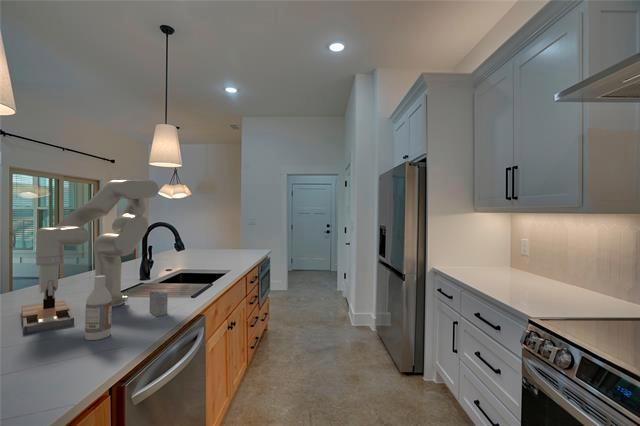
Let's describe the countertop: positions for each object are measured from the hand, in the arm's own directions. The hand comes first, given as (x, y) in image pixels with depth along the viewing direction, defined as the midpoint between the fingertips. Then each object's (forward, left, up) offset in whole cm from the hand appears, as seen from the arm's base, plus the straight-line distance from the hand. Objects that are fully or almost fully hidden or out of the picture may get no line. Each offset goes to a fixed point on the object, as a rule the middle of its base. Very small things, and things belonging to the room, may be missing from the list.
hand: (49, 309), depth 114 cm
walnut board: (+6, -5, -4) cm, 9 cm away
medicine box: (-35, -12, -4) cm, 37 cm away
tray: (-4, +5, -4) cm, 8 cm away
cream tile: (-6, +6, -2) cm, 9 cm away
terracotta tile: (-1, +2, -2) cm, 4 cm away
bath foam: (-29, +13, -4) cm, 32 cm away
